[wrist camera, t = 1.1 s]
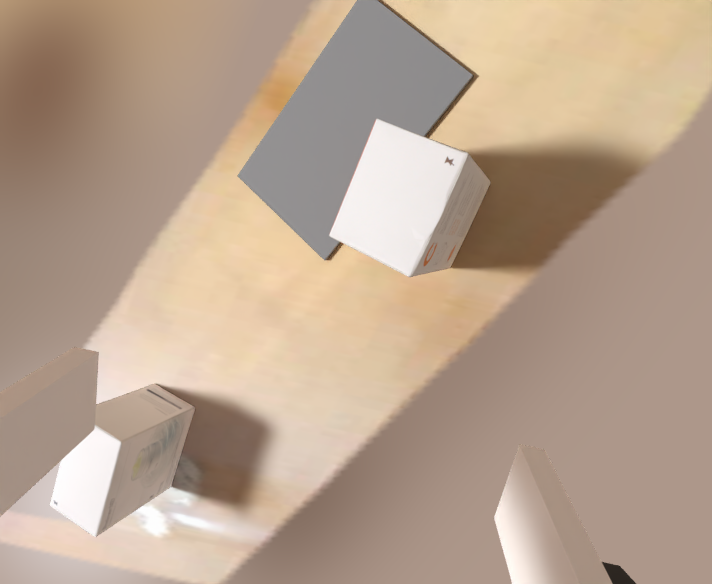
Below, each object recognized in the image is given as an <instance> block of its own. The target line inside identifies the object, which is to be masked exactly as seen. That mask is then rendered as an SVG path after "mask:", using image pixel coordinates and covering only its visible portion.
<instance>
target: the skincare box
mask: <svg viewBox="0 0 712 584" xmlns="http://www.w3.org/2000/svg"><path fill="white" fill-rule="evenodd" d="M194 411H195V407H194V406H192V405H190V404H189V403H187V402H185V401H183V400H181V399H180V398H178V397H176V396H175V395H173V394H171V393H169V392H168V391H166V390H164V389H163V388H161V387H159V386H158V385H156V384H151V385H149V386H147V387H144V388H141V389H139V390H136V391H133V392H130V393H127V394H125V395H122V396H119V397H116V398H114V399H111V400H108V401H105V402H102V403H99V404H96V412H95V430H93V431H92V432H91V433H90V434H89V435H88V436H87V437H86V438H85V439H84V440H83V441H82V442H81V443H79V444H78V445H77V446H76V447H75V448H74V449H73V450H72V451H71V452H70V453H69V454H68V455H66V456H65V457H64V458H63V459H62V460H61V463H60V467H59V471H58V475H57V479H56V483H55V487H54V491H53V495H52V499H51V503H50V506H51V507H52V508H54V509H55V510H57V511H58V512H59V513H61V514H62V515H64V516H65V517H67V518H68V519H69V520H71V521H72V522H74V523H75V524H76V525H78V526H79V527H81V528H82V529H83V530H85V531H86V532H88V533H90V534H91V535H93V536H94V537H97V536H98V535H99V534H101V533H102V532H104V531H105V530H107V529H108V528H110V527H111V526H113V525H114V524H116V523H117V522H119V521H120V520H122V519H123V518H125V517H126V516H128V515H129V514H131V513H132V512H134V511H135V510H137V509H138V508H140V507H141V506H143V505H144V504H146V503H147V502H149V501H151V500H152V499H154V498H155V497H157V496H158V495H160V494H161V493H163V492H164V491H166V490H167V489H169V488H170V487H171V486H172V482H173V479H174V476H175V473H176V469H177V466H178V463H179V460H180V456H181V453H182V450H183V447H184V443H185V440H186V437H187V433H188V430H189V427H190V424H191V420H192V417H193V414H194Z"/></svg>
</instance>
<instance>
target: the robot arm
mask: <svg viewBox="0 0 712 584" xmlns="http://www.w3.org/2000/svg"><path fill="white" fill-rule="evenodd" d="M98 355H99V352H95V351H91V350H86V349H82V348H77V347H74V348H72V349H70V350H69V351H67V352H65V353H64V354H62V355H60V356H59V357H57V358H56V359H54V360H52V361H51V362H49V363H47V364H46V365H44V366H42V367H41V368H39V369H37V370H36V371H34V372H32V373H31V374H29V375H27V376H26V377H24V378H22V379H21V380H19V381H17V382H16V383H14V384H13V385H11V386H9V387H8V388H6V389H4V390H3V391H1V392H0V516H1V515H3V514H4V513H5V512H6V511H7V510H8V509H9V508H10V507H11V506H12V505H13V504H14V503H16V501H18V500H19V499H20V498H21V497H22V496H23V495H24V494H25V493H26V492H27V491H28V490H30V489H31V488H32V487H33V486H34V485H35V484H36V483H37V482H38V481H39V480H40V479H42V478H43V477H44V476H45V475H46V474H47V473H48V472H49V471H50V470H51V469H52V468H53V467H54V466H56V465H57V464H58V463H59V462H60V461H61V460H62V459H63V458H64V457H65V456H66V455H68V454H69V453H70V452H71V451H72V450H73V449H74V448H75V447H76V446H77V445H78V444H79V443H81V442H82V441H83V440H84V439H85V438H86V437H87V436H88V435H89V434H90V433H91V432H92V431H93V430H95V412H96V393H97V374H98ZM494 519H495V522H496V526H497V530H498V533H499V537H500V541H501V544H502V547H503V551H504V555H505V559H506V562H507V566H508V569H509V573H510V577H511V580H512V584H636V583H635V582H634V581H633V580H632V579H631V578H630V577H629V576H628V575H627V573H626V572H625V571H624V570H623V569H622V568H621V567H620V566H618V565H613V564H608V563H604V562H601V560H600V558H599V556H598V554H597V552H596V550H595V548H594V546H593V544H592V542H591V540H590V538H589V536H588V534H587V532H586V531H585V528H584V527H583V524H582V522H581V521H580V519H579V517H578V515H577V513H576V511H575V509H574V507H573V505H572V503H571V501H570V499H569V497H568V495H567V493H566V491H565V489H564V487H563V485H562V483H561V481H560V479H559V477H558V475H557V473H556V471H555V469H554V468H553V466H552V464H551V462H550V460H549V458H548V456H547V454H546V452H545V450H544V449H539V448H535V447H530V446H526V445H521V444H519V447H518V450H517V453H516V456H515V459H514V462H513V465H512V467H511V471H510V473H509V476H508V479H507V483H506V485H505V488H504V491H503V494H502V497H501V500H500V503H499V505H498V508H497V511H496V514H495V517H494Z"/></svg>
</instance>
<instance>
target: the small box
mask: <svg viewBox="0 0 712 584" xmlns="http://www.w3.org/2000/svg"><path fill="white" fill-rule="evenodd" d="M490 183H491V181H490V180H489V179H488V178H487V176H486V175H485V174H484V172H483V171H482V170H481V169H480V167H479V166H478V165H477V164H476V163H475V161H474V160H473V159H472V157H471V156H470V155H469V154H468V153H467V152H465V151H462V150H459V149H456V148H453V147H451V146H448V145H445V144H442V143H440V142H437V141H434V140H432V139H429V138H426V137H424V136H421V135H418V134H416V133H413V132H410V131H408V130H405V129H402V128H400V127H397V126H395V125H392V124H389V123H387V122H384V121H382V120H379V119H376V120H375V122H374V125H373V127H372V130H371V132H370V135H369V137H368V140H367V142H366V145H365V147H364V150H363V152H362V154H361V157H360V159H359V162H358V164H357V167H356V169H355V172H354V174H353V177H352V179H351V182H350V184H349V187H348V189H347V191H346V194H345V196H344V199H343V201H342V204H341V206H340V209H339V211H338V214H337V216H336V219H335V221H334V224H333V226H332V229H331V231H330V233H329V236H330V237H332V238H333V239H335V240H337V241H339V242H341V243H343V244H345V245H347V246H349V247H351V248H353V249H355V250H357V251H359V252H361V253H363V254H365V255H367V256H369V257H371V258H373V259H375V260H377V261H379V262H381V263H383V264H384V265H386V266H388V267H390V268H392V269H394V270H396V271H398V272H400V273H402V274H404V275H406V276H408V277H413V276H417V275H421V274H426V273H430V272H435V271H440V270H444V269H448V268H451V265H452V263H453V261H454V260H455V258H456V255H457V253H458V251H459V249H460V247H461V245H462V243H463V241H464V239H465V237H466V235H467V233H468V230H469V228H470V226H471V224H472V222H473V220H474V218H475V216H476V214H477V211H478V209H479V207H480V205H481V203H482V201H483V199H484V197H485V194H486V192H487V190H488V188H489V185H490Z"/></svg>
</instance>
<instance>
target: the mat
mask: <svg viewBox="0 0 712 584" xmlns="http://www.w3.org/2000/svg"><path fill="white" fill-rule="evenodd" d="M472 78H473V75H472V74H471V73H470V72H468V71H467V70H466V69H464V68H463V67H462V66H461V65H459V64H458V63H457V62H456V61H454V60H453V59H452V58H450V57H449V56H448V55H447V54H445V53H444V52H443V51H441V50H440V49H439V48H438V47H436V46H435V45H434V44H433V43H431V42H430V41H429V40H427V39H426V38H425V37H424V36H422V35H421V34H420V33H418V32H417V31H416V30H415V29H413V28H412V27H411V26H410V25H408V24H407V23H406V22H404V21H403V20H402V19H401V18H399V17H398V16H397V15H395V14H394V13H393V12H392V11H390V10H389V9H388V8H387V7H385V6H384V5H383V4H381V3H380V2H379V1H378V0H357V1H356V3H355V4H354V6H353V7H352V9H351V10H350V12H349V13H348V15H347V16H346V17H345V19H344V20H343V22H342V23H341V25H340V26H339V28H338V29H337V31H336V32H335V34H334V35H333V37H332V38H331V39H330V41H329V42H328V44H327V45H326V47H325V48H324V50H323V51H322V53H321V54H320V56H319V57H318V59H317V60H316V61H315V63H314V64H313V66H312V67H311V69H310V70H309V72H308V73H307V75H306V76H305V78H304V79H303V81H302V82H301V83H300V85H299V86H298V88H297V89H296V91H295V92H294V94H293V95H292V97H291V98H290V100H289V101H288V102H287V104H286V105H285V107H284V108H283V110H282V111H281V113H280V114H279V116H278V117H277V119H276V120H275V122H274V123H273V124H272V126H271V127H270V129H269V130H268V132H267V133H266V135H265V136H264V138H263V139H262V141H261V142H260V144H259V145H258V146H257V148H256V149H255V151H254V152H253V154H252V155H251V157H250V158H249V160H248V161H247V163H246V164H245V166H244V167H243V168H242V170H241V171H240V173H239V174H238V177H239V178H240V179H241V180H242V181H243V182H244V183H245V184H246V185H247V186H248V187H249V188H250V189H251V190H252V191H253V192H254V193H256V194H257V195H258V196H259V197H260V198H261V199H262V200H263V201H264V202H265V203H266V204H267V205H268V206H269V207H270V208H271V209H272V210H273V211H274V212H275V213H276V214H277V215H278V216H279V217H280V218H281V219H282V220H283V221H284V222H285V223H287V224H288V225H289V226H290V227H291V228H292V229H293V230H294V231H295V232H296V233H297V234H298V235H299V236H300V237H301V238H302V239H303V240H304V241H305V242H306V243H307V244H308V245H309V246H310V247H311V248H312V249H313V250H314V251H315V252H316V253H318V254H319V255H320V256H321V257H322V258H323V259H324V260H327V259H328V257H329V256H330V255H331V254H332V252H333V251H334V250H335V249H336V247H337V246H338V245H339V244H340V242H339V241H337V240H335V239H333V238H332V237H330V236H329V233H330V231H331V229H332V226H333V224H334V221H335V219H336V216H337V214H338V211H339V209H340V206H341V204H342V201H343V199H344V196H345V194H346V191H347V189H348V187H349V184H350V182H351V179H352V177H353V174H354V172H355V169H356V167H357V164H358V162H359V159H360V157H361V154H362V152H363V150H364V147H365V145H366V142H367V140H368V137H369V135H370V132H371V130H372V127H373V125H374V122H375V120H376V119H379V120H382V121H384V122H387V123H389V124H392V125H395V126H397V127H400V128H402V129H405V130H408V131H410V132H413V133H416V134H418V135H421V136H424V137H425V136H426V135H427V134H428V133H429V131H430V130H431V129H432V128H433V126H434V125H435V124H436V123H437V121H438V120H439V119H440V118H441V116H442V115H443V114H444V113H445V111H446V110H447V109H448V108H449V106H450V105H451V104H452V103H453V101H454V100H455V99H456V98H457V96H458V95H459V94H460V93H461V91H462V90H463V89H464V88H465V86H466V85H467V84H468V83H469V81H470V80H471V79H472Z"/></svg>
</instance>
